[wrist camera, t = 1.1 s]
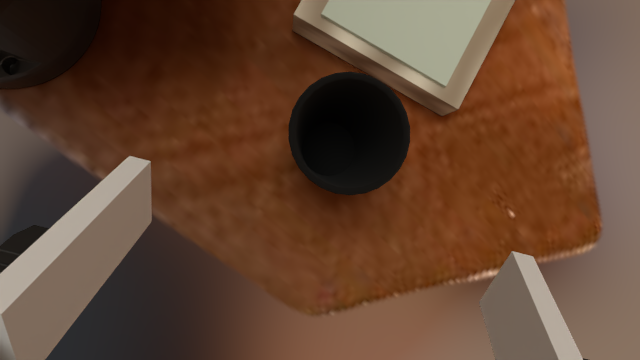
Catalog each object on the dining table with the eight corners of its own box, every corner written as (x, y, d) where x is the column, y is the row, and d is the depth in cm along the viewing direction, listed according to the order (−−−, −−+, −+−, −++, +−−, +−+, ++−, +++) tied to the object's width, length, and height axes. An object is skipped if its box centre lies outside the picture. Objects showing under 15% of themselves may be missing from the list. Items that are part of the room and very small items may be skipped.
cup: (324, 90, 37) (345, 45, 25) (385, 146, 37) (435, 129, 25) (268, 152, 36) (262, 137, 24) (331, 208, 37) (355, 220, 25)
